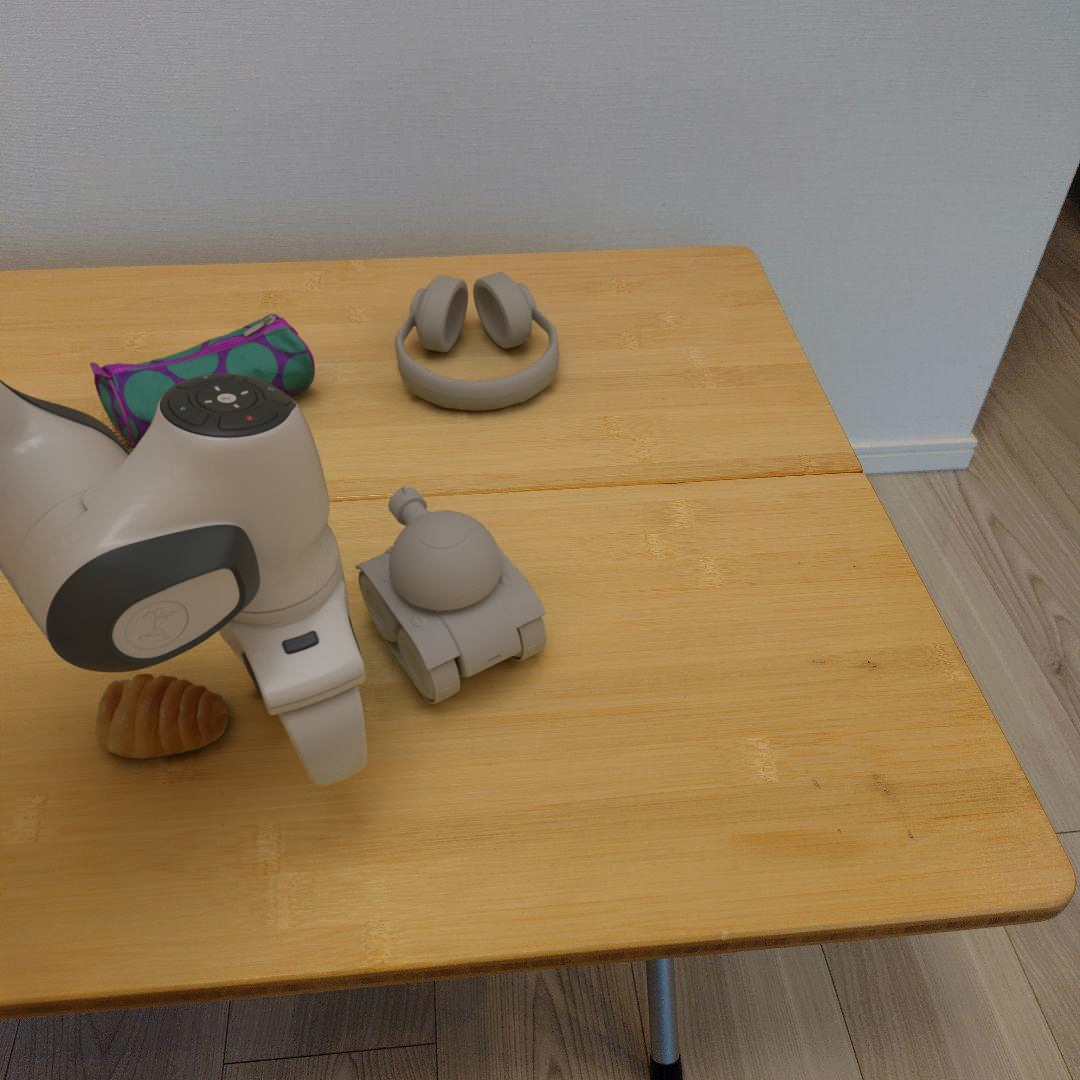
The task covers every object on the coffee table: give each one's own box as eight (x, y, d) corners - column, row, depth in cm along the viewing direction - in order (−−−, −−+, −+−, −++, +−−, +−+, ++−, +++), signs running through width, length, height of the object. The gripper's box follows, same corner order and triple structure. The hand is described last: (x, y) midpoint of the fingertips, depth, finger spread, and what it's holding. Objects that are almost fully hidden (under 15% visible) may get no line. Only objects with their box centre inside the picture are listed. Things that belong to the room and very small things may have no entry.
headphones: (395, 315, 116) (401, 434, 104) (389, 262, 110) (394, 380, 97) (544, 307, 118) (567, 422, 106) (546, 254, 111) (571, 369, 99)
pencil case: (287, 363, 109) (272, 288, 103) (323, 400, 104) (309, 324, 98) (107, 427, 100) (77, 350, 94) (136, 471, 95) (107, 393, 89)
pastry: (240, 691, 76) (229, 662, 74) (219, 765, 72) (208, 736, 69) (123, 690, 76) (108, 661, 74) (95, 763, 71) (78, 735, 69)
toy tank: (356, 604, 83) (336, 493, 74) (461, 558, 87) (454, 448, 78) (438, 725, 74) (426, 617, 65) (550, 668, 78) (554, 559, 69)
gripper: (197, 510, 69) (237, 633, 78) (271, 723, 56) (309, 839, 65) (282, 485, 71) (312, 608, 80) (374, 685, 58) (395, 803, 67)
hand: (311, 713), depth 73 cm, fingers closed
